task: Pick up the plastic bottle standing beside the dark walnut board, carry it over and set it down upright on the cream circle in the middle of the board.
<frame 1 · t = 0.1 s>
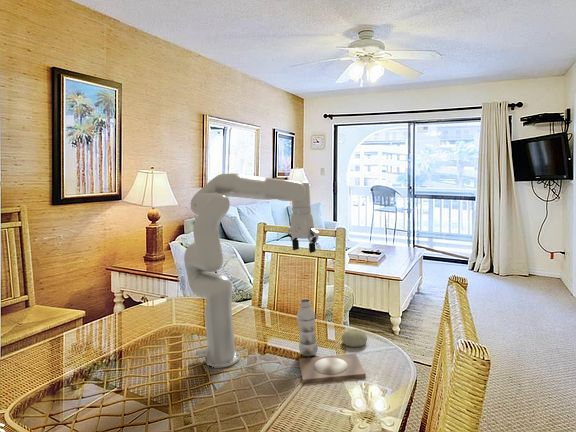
hand: (304, 250, 177), 31 cm above the table, tool pointing down, fingers open, 9 cm apart
sea urchin shell: (354, 343, 157), on the table
walnut board: (330, 369, 139), on the table
plastic bottle: (308, 355, 150), on the table
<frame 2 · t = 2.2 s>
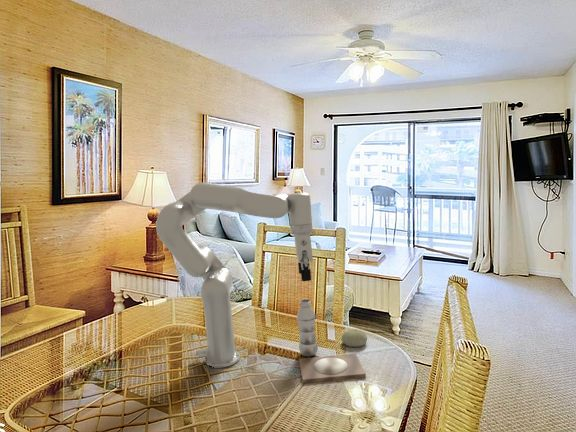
hand: (304, 276, 147), 29 cm above the table, tool pointing down, fingers open, 9 cm apart
nothing on the table moved.
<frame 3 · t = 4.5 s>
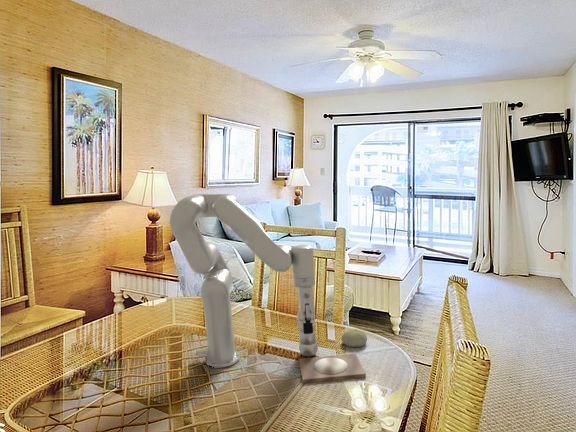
hand: (307, 329, 149), 10 cm above the table, tool pointing down, fingers closed on plastic bottle, 6 cm apart
plastic bottle: (308, 355, 150), on the table, touching gripper
everything else where it was.
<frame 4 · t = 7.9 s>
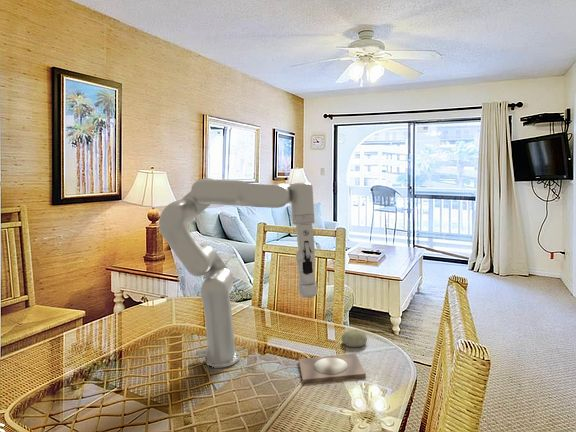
hand: (306, 270, 145), 32 cm above the table, tool pointing down, fingers closed on plastic bottle, 6 cm apart
plastic bottle: (308, 297, 146), point 22 cm above the table, touching gripper
everything else where it was.
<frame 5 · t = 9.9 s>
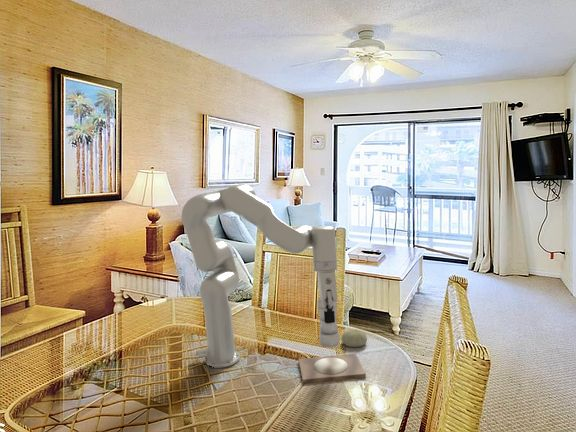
hand: (328, 318, 136), 18 cm above the table, tool pointing down, fingers closed on plastic bottle, 6 cm apart
plastic bottle: (329, 346, 138), point 8 cm above the table, touching gripper
everything else where it was.
when the fingers open (12 cm above the table, at t = 11.7 s): plastic bottle drops 1 cm, resting on walnut board.
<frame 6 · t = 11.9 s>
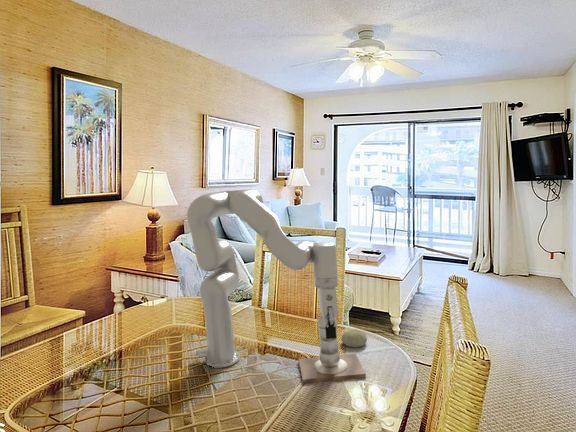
hand: (328, 332, 137), 13 cm above the table, tool pointing down, fingers open, 8 cm apart
plastic bottle: (330, 365, 139), point 1 cm above the table, touching walnut board
everything else where it was.
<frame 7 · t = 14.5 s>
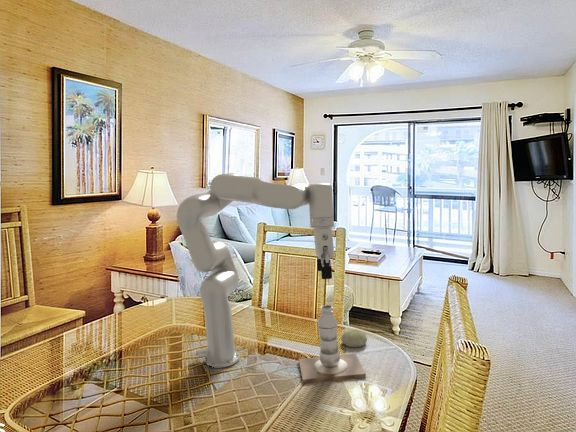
hand: (324, 274, 135), 32 cm above the table, tool pointing down, fingers open, 9 cm apart
nothing on the table moved.
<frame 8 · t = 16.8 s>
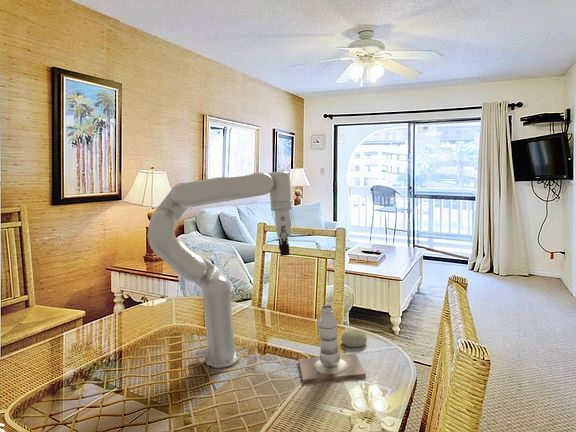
hand: (284, 252, 153), 36 cm above the table, tool pointing down, fingers open, 9 cm apart
nothing on the table moved.
at the end: plastic bottle inside the target area on the walnut board (0.3 cm from its centre), point 1.2 cm above the walnut board's base; plastic bottle tilted 0°; the gripper is holding nothing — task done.
